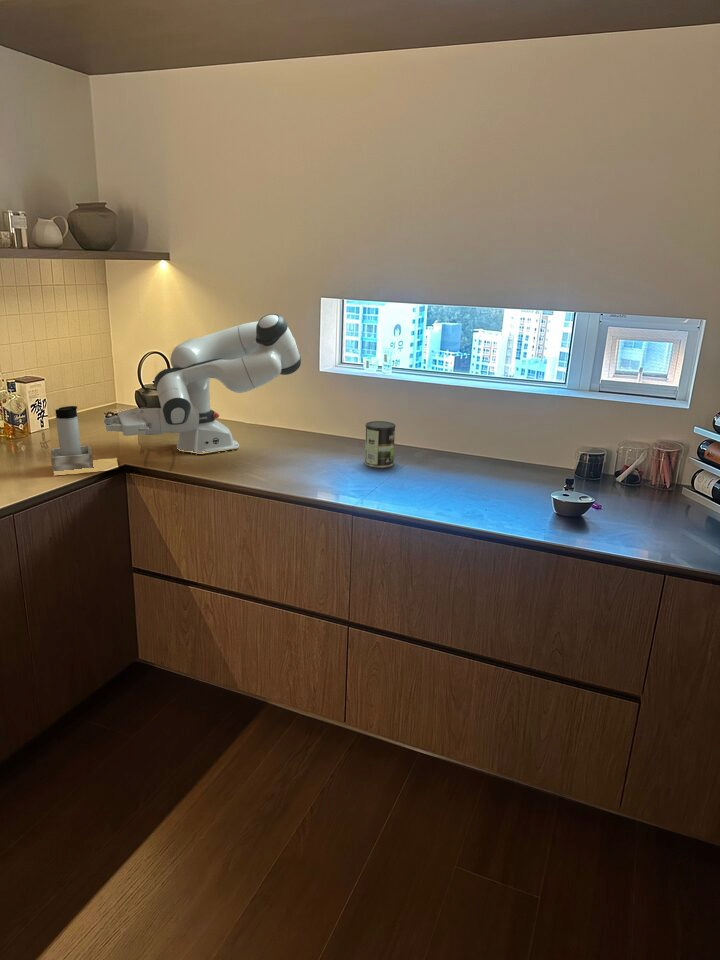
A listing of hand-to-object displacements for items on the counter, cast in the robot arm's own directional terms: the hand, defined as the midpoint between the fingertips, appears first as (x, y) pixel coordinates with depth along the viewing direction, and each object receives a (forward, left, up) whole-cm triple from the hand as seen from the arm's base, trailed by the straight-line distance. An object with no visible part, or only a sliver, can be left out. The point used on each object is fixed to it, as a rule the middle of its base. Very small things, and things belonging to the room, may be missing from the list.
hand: (105, 424), depth 219 cm
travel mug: (+11, +1, -13) cm, 17 cm away
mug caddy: (+7, 0, -14) cm, 16 cm away
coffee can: (-87, +26, -14) cm, 92 cm away
